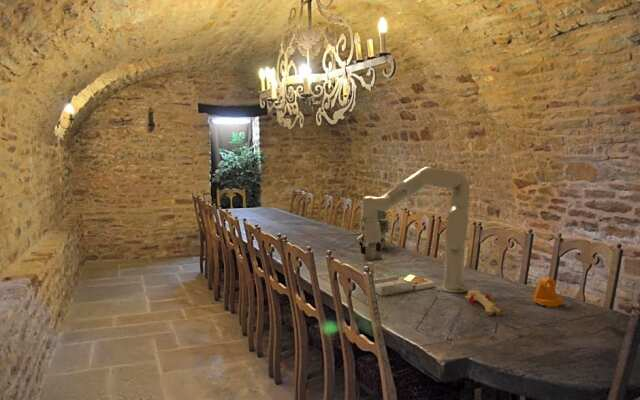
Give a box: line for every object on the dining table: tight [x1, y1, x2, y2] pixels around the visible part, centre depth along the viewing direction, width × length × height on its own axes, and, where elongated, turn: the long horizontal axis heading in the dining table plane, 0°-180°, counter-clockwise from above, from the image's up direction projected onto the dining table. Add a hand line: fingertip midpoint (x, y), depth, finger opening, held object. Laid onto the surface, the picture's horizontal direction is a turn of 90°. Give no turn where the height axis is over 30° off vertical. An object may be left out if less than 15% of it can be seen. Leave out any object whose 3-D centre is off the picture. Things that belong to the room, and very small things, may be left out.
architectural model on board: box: [363, 247, 383, 261], centre depth 322 cm, size 11×3×10 cm, turn 115°
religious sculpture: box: [367, 210, 389, 249], centre depth 356 cm, size 24×12×30 cm, turn 15°
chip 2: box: [415, 275, 424, 285], centre depth 263 cm, size 4×4×3 cm
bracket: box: [532, 275, 564, 308], centre depth 231 cm, size 11×7×12 cm, turn 98°
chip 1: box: [404, 274, 417, 284], centre depth 261 cm, size 4×4×3 cm
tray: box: [399, 275, 436, 291], centre depth 262 cm, size 15×13×2 cm
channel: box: [374, 275, 414, 297], centre depth 254 cm, size 13×20×4 cm, turn 120°
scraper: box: [365, 261, 378, 279], centre depth 265 cm, size 8×3×11 cm, turn 32°
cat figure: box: [464, 289, 502, 316], centre depth 227 cm, size 10×9×25 cm
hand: (371, 252), depth 263 cm, fingers open, 9 cm apart
